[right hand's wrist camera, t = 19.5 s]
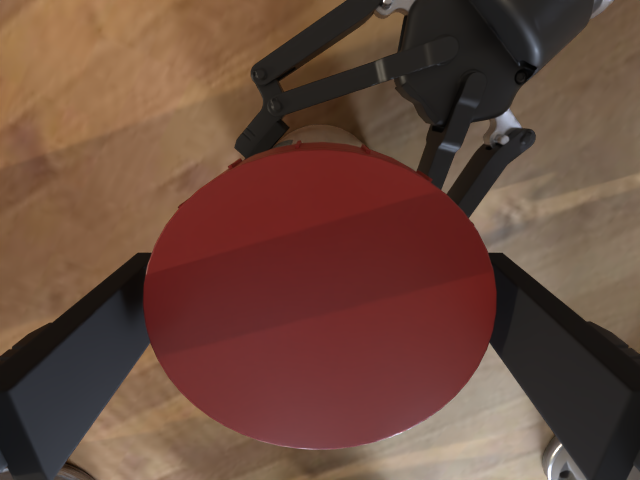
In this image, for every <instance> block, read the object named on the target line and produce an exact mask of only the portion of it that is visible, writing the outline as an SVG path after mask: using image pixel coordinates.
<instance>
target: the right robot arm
mask: <svg viewBox="0 0 640 480" xmlns="http://www.w3.org/2000/svg"><path fill="white" fill-rule="evenodd" d="M151 254H152V253H137V254H136V255H135V256H133V257H132V258H131V259H130V260H128V261H127V262H126V263H125V264H124V265H122V266H121V267H120V268H119V269H117V270H116V271H115V272H114V273H113V274H111V275H110V276H109V277H108V278H106V279H105V280H104V281H103V282H102V283H100V284H99V285H98V286H97V287H95V288H94V289H93V290H92V291H90V292H89V293H88V294H87V295H86V296H84V297H83V298H82V299H81V300H79V301H78V302H77V303H76V304H75V305H73V306H72V307H71V308H70V309H68V310H67V311H66V312H65V313H64V314H62V315H61V316H60V317H59V318H57V319H56V320H55V321H54V322H53V323H48V324H46V325H44V326H42V327H41V328H39V329H37V330H35V331H33V332H31V333H29V334H28V335H26V336H25V337H24V338H23V339H21V340H20V341H19V342H18V343H16V344H15V345H14V346H13V347H12V349H9V350H7V351H6V352H5V353H4V354H2V355H1V356H0V480H95V479H93V478H92V477H91V476H89V475H88V474H86V473H85V472H83V471H81V470H79V469H77V468H75V467H73V466H71V465H68V464H65V462H66V461H67V459H68V458H69V457H70V455H71V454H72V452H73V451H74V450H75V448H76V447H77V445H78V444H79V442H80V441H81V440H82V438H83V437H84V435H85V434H86V433H87V431H88V430H89V428H90V427H91V426H92V424H93V423H94V421H95V420H96V419H97V417H98V416H99V414H100V413H101V412H102V410H103V409H104V407H105V406H106V404H107V403H108V402H109V400H110V399H111V397H112V396H113V395H114V393H115V392H116V390H117V389H118V388H119V386H120V385H121V383H122V382H123V381H124V379H125V378H126V376H127V375H128V373H129V372H130V371H131V369H132V368H133V366H134V365H135V364H136V362H137V361H138V359H139V358H140V357H141V355H142V354H143V352H144V351H145V350H146V348H147V347H148V345H149V344H150V339H149V336H148V332H147V329H146V325H145V317H144V309H143V291H144V281H145V276H146V271H147V265H148V262H149V260H150V257H151ZM488 254H489V258H490V261H491V264H492V267H493V270H494V277H495V284H496V291H497V298H496V316H495V322H494V328H493V332H492V335H491V338H490V341H489V342H490V344H491V345H492V347H493V348H494V350H495V351H496V352H497V354H498V355H499V357H500V358H501V359H502V361H503V362H504V364H505V365H506V366H507V368H508V369H509V371H510V372H511V373H512V375H513V376H514V378H515V379H516V381H517V382H518V383H519V385H520V386H521V388H522V389H523V390H524V392H525V393H526V395H527V396H528V397H529V399H530V400H531V402H532V403H533V404H534V406H535V407H536V409H537V410H538V412H539V413H540V414H541V416H542V417H543V419H544V420H545V421H546V423H547V424H548V426H549V427H550V428H551V430H552V431H553V433H554V434H555V435H556V437H557V438H558V440H559V441H560V442H561V444H562V445H563V447H564V448H565V450H566V451H567V452H568V454H569V455H570V457H571V458H572V459H573V461H574V462H575V464H576V465H577V466H578V468H579V469H580V471H581V472H582V473H583V475H584V476H585V478H586V479H587V480H627V478H628V476H629V474H630V472H631V470H632V468H633V466H635V467H636V468H637V469H638V470H639V472H640V354H639V353H637V352H636V351H635V350H633V349H632V348H629V347H628V345H627V344H626V343H625V342H623V341H622V340H621V339H619V338H618V337H617V336H616V335H614V334H613V333H612V332H610V331H608V330H606V329H604V328H602V327H600V326H598V325H596V324H594V323H593V322H586V321H585V320H584V319H583V318H581V317H580V316H579V315H578V314H576V313H575V312H574V311H573V310H572V309H570V308H569V307H568V306H567V305H565V304H564V303H563V302H562V301H561V300H559V299H558V298H557V297H556V296H554V295H553V294H552V293H551V292H549V291H548V290H547V289H546V288H545V287H543V286H542V285H541V284H540V283H538V282H537V281H536V280H535V279H534V278H532V277H531V276H530V275H529V274H527V273H526V272H525V271H524V270H523V269H521V268H520V267H519V266H518V265H516V264H515V263H514V262H513V261H512V260H510V259H509V258H508V257H507V256H505V255H504V254H503V253H488Z"/></svg>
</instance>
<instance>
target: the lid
mask: <svg viewBox="0 0 640 480" xmlns="http://www.w3.org/2000/svg"><path fill="white" fill-rule="evenodd" d="M228 168H229V169H228V170H226V171H225V172H223V173H222V174H220V175H219V176H217V177H216V178H214V179H213V180H212V181H210V182H209V183H207V184H206V185H205V186H203V187H202V188H200V189H199V190H198V191H197V192H196V193H195V194H193V195H192V196H191V197H190V198H189V199H187V200H186V201H185V202H183V203H182V204H181V205H179V207H178V208H179V209H178V210H177V212H176V213H175V214H174V215H173V217H172V218H171V219H170V220H169V222H168V223H167V224H166V226H165V228H164V229H163V231H162V233H161V235H160V237H159V238H158V240H157V242H156V244H155V246H154V249H153V251H152V254H151V257H150V260H149V262H148V265H147V271H146V276H145V281H144V291H143V309H144V317H145V325H146V329H147V332H148V336H149V339H150V343H151V345H152V348H153V350H154V352H155V354H156V357H157V359H158V361H159V363H160V364H161V366H162V368H163V369H164V371H165V372H166V374H167V376H168V377H169V378H170V380H171V381H172V382H173V383H174V385H175V386H176V387H177V388H178V390H179V391H180V392H181V393H182V394H183V395H184V396H185V397H186V398H187V399H188V400H189V401H190V402H191V403H192V404H193V405H195V406H196V407H197V408H199V409H200V410H201V411H203V412H204V413H205V414H206V415H208V416H209V417H211V418H212V419H214V420H216V421H217V422H219V423H221V424H222V425H224V426H226V427H228V428H230V429H232V430H234V431H236V432H238V433H240V434H243V435H245V436H248V437H251V438H254V439H257V440H259V441H263V442H267V443H271V444H275V445H279V446H286V447H292V448H300V449H316V450H318V449H340V448H348V447H355V446H360V445H364V444H369V443H374V442H377V441H380V440H383V439H386V438H389V437H392V436H394V435H397V434H399V433H401V432H404V431H406V430H408V429H410V428H412V427H414V426H416V425H417V424H419V423H421V422H423V421H424V420H426V419H428V418H429V417H430V416H432V415H433V414H435V413H436V412H437V411H439V410H440V409H442V408H443V407H444V406H445V405H446V404H447V403H448V402H449V401H450V400H452V399H453V398H454V397H455V396H456V395H457V394H458V393H459V391H460V390H461V389H462V388H463V387H464V386H465V385H466V383H467V382H468V381H469V379H470V378H471V376H472V375H473V374H474V372H475V371H476V369H477V368H478V366H479V364H480V362H481V360H482V358H483V356H484V354H485V352H486V350H487V347H488V344H489V341H490V338H491V335H492V332H493V328H494V322H495V316H496V298H497V291H496V284H495V277H494V270H493V267H492V264H491V261H490V258H489V254H488V251H487V249H486V247H485V245H484V243H483V241H482V239H481V237H480V235H479V233H478V231H477V229H476V228H475V227H474V224H473V223H472V222H471V221H470V220H469V218H468V217H467V215H466V214H465V213H464V211H463V210H462V209H461V208H460V207H459V206H458V205H457V204H456V203H455V202H454V201H453V200H452V199H451V198H450V197H449V196H448V195H447V194H445V193H444V192H443V191H441V190H440V189H439V188H438V187H436V186H435V185H434V184H432V183H431V181H432V179H431V178H430V177H428V176H427V175H425V174H424V173H422V172H421V171H419V170H417V172H416V171H414V170H413V169H411V168H410V167H408V166H406V165H404V164H402V163H401V162H399V161H397V160H395V159H393V158H391V157H389V156H386V155H384V154H381V153H378V152H376V151H373V150H370V149H369V148H367V147H366V146H365V145H361V147H357V146H353V145H349V144H340V143H329V142H314V143H302V142H301V140H300V141H297V143H296V144H293V145H287V146H282V147H276V148H273V149H270V150H267V151H264V152H261V153H258V154H255V155H253V156H251V157H249V158H247V159H245V160H243V161H242V159H241V158H240V159H238V160H237V161H235V162H234V163H232V164H231V165H229V166H228Z"/></svg>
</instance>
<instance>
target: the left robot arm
mask: <svg viewBox="0 0 640 480" xmlns="http://www.w3.org/2000/svg"><path fill="white" fill-rule="evenodd" d="M613 1H614V0H346V1H345V2H343V3H342V4H341V5H339V6H338V7H336V8H335V9H333V10H332V11H331V12H329V13H328V14H326V15H325V16H323V17H322V18H321V19H319V20H318V21H316V22H315V23H313V24H312V25H311V26H309V27H308V28H306V29H305V30H303V31H302V32H301V33H299V34H298V35H296V36H295V37H293V38H292V39H290V40H289V41H288V42H286V43H285V44H283V45H282V46H280V47H279V48H278V49H276V50H275V51H273V52H272V53H270V54H269V55H268V56H266V57H265V58H263V59H262V60H260V61H259V62H258V63H256V64H255V65H254V66H253V67H252V69H251V78H252V80H253V81H254V83H255V84H256V86H257V88H258V89H259V91H260V93H261V95H262V98H263V107H262V109H261V111H260V112H259V113H258V114H257V116H256V117H255V118H254V119H253V121H252V122H251V123H250V124H249V125H248V127H247V128H246V129H245V130H244V131H243V133H242V134H241V135H240V136H239V138H238V139H237V140H236V144H235V147H234V148H235V149H236V150H237V151H238V152H240V153H241V154H242V155H243V156H244V157H245V159H247V158H249V157H251V156H253V155H255V154H258V153H261V152H264V151H267V150H270V149H271V148H272V147H273V146H274V145H275V144H276V143H277V142H278V140H279V139H280V138H281V137H282V136H283V135H284V133H285V132H286V131H287V130H288V129H289V127H288V126H287V125H286V124H285V123H284V122H283V121H282V118H283V117H284V116H285V115H286V114H289V113H292V112H295V111H298V110H301V109H304V108H307V107H310V106H313V105H316V104H319V103H322V102H325V101H328V100H331V99H334V98H337V97H340V96H343V95H346V94H349V93H352V92H355V91H358V90H361V89H364V88H367V87H370V86H373V85H376V84H379V83H382V82H385V81H388V80H391V79H394V82H395V85H396V88H395V89H396V90H397V91H398V92H399V93H400V95H401V96H402V97H404V98H405V99H407V100H408V101H410V102H412V103H413V104H414V106H415V108H416V110H417V113H418V115H419V116H420V117H421V118H422V119H423V120H424V121H425V122H426V123H429V124H431V125H430V128H429V131H428V134H427V138H426V146H425V149H424V152H423V155H422V158H421V160H420V163H419V166H418V169H417V170H419V171H421V172H422V173H424V174H425V175H427V176H428V177H430V178H431V179H432V181H431V183H432V184H434V185H435V186H436V187H438V188H439V189H440V190H441V189H442V186H443V184H444V181H445V179H446V176H447V173H448V171H449V168H450V166H451V163H452V160H453V158H454V155H455V153H456V151H458V150H459V149H460V147H461V146H462V143H463V141H464V138H465V136H466V133H467V131H468V128H469V125H470V123H473V122H478V121H483V120H488V119H489V120H490V127H489V129H488V131H487V132H486V133H485V134H484V136H483V141H484V144H483V145H482V146H481V147H480V148H479V149H478V150H477V151H476V152H475V153H474V155H473V156H472V157H471V159H470V160H469V162H468V163H467V165H466V166H465V168H464V169H463V171H462V172H461V174H460V175H459V177H458V178H457V180H456V181H455V183H454V184H453V186H452V187H451V189H450V190H449V192H448V193H447V195H448V196H449V197H450V198H451V199H452V200H453V201H454V202H455V203H456V204H457V205H458V206H459V207H460V208H461V209H462V210H463V211H464V213H465V214H466V215H467V217H468V218H469V217H470V216H471V214H472V213H473V212H474V210H475V209H476V207H477V206H478V205H479V203H480V202H481V201H482V199H483V198H484V196H485V195H486V194H487V192H488V191H489V189H490V188H491V187H492V185H493V184H494V182H495V181H496V180H497V178H498V177H499V175H500V174H501V173H502V171H503V170H504V169H505V167H506V166H507V164H509V163H510V162H511V161H513V160H514V159H515V158H516V157H518V156H519V155H520V154H522V153H523V152H524V151H525V150H527V149H528V148H529V147H531V146H532V145H533V143H534V142H535V139H536V135H535V132H534V131H533V130H531V129H526V128H522V127H521V125H520V124H519V122H518V121H517V119H516V118H515V116H514V115H513V113H512V112H511V110H510V109H509V107H510V106H511V104H512V102H513V99H514V97H515V95H516V93H517V92H518V90H519V89H520V87H521V86H522V85H523V84H525V83H526V82H527V81H528V80H529V79H530V78H532V77H533V76H534V75H535V74H536V73H537V72H538V71H539V70H541V69H542V68H543V67H544V66H545V65H546V64H547V63H548V62H549V61H550V60H551V59H552V58H553V57H554V56H555V55H556V54H558V53H559V52H560V51H561V50H562V49H563V48H564V47H565V46H566V45H567V44H568V43H569V42H570V41H571V40H572V39H573V38H575V37H576V36H577V35H578V34H579V33H580V32H581V31H582V30H583V29H584V28H585V27H586V25H587V24H588V22H589V20H590V19H592V18H594V17H595V16H597V15H598V14H600V13H602V12H603V11H604V10H605V9H606V8H607V7H608V6H609V5H610V4H611V3H612V2H613ZM395 12H399V13H402V14H403V15H404V20H403V25H402V30H401V36H400V41H399V46H398V51H397V53H396V54H393V55H390V56H387V57H384V58H381V59H379V60H377V61H374V62H371V63H368V64H365V65H362V66H359V67H356V68H353V69H350V70H348V71H345V72H342V73H339V74H336V75H333V76H330V77H327V78H324V79H321V80H318V81H315V82H312V83H309V84H306V85H303V86H301V87H298V88H295V89H292V90H289V91H286V92H284V91H283V89H282V87H281V85H280V83H279V81H280V80H282V79H283V78H285V77H286V76H288V75H289V74H291V73H292V72H294V71H295V70H297V69H298V68H300V67H301V66H303V65H304V64H306V63H307V62H309V61H310V60H311V59H313V58H314V57H316V56H317V55H319V54H320V53H322V52H323V51H325V50H326V49H328V48H329V47H331V46H332V45H334V44H335V43H337V42H338V41H340V40H341V39H343V38H344V37H345V36H347V35H348V34H350V33H351V32H353V31H354V30H356V29H357V28H359V27H360V26H361V25H363V24H364V23H365V22H366V21H367V20H368V19H369V18H370V17H371V16H372V15H373V14H374V15H375V16H376V17H378V18H380V19H385V18H387V17H388V16H390V15H391V14H392V13H395ZM245 159H244V160H245ZM542 466H543V470H544V473H545V475H546V477H547V478H548V480H587V479H586V478H585V476H584V475H583V473H582V472H581V471H580V469H579V468H578V466H577V465H576V464H575V462H574V461H573V459H572V458H571V457H570V455H569V454H568V452H567V451H566V450H565V448H564V447H563V445H562V444H561V442H560V441H559V440H558V438H557V437H556V435H555V436H554V437H553V439H552V440H551V441H550V443H549V444H548V446H547V447H546V449H545V452H544V455H543V460H542ZM627 480H640V472H639V470H638V469H637V468H636V467H635V466H633V468H632V470H631V472H630V474H629V476H628V478H627Z"/></svg>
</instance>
